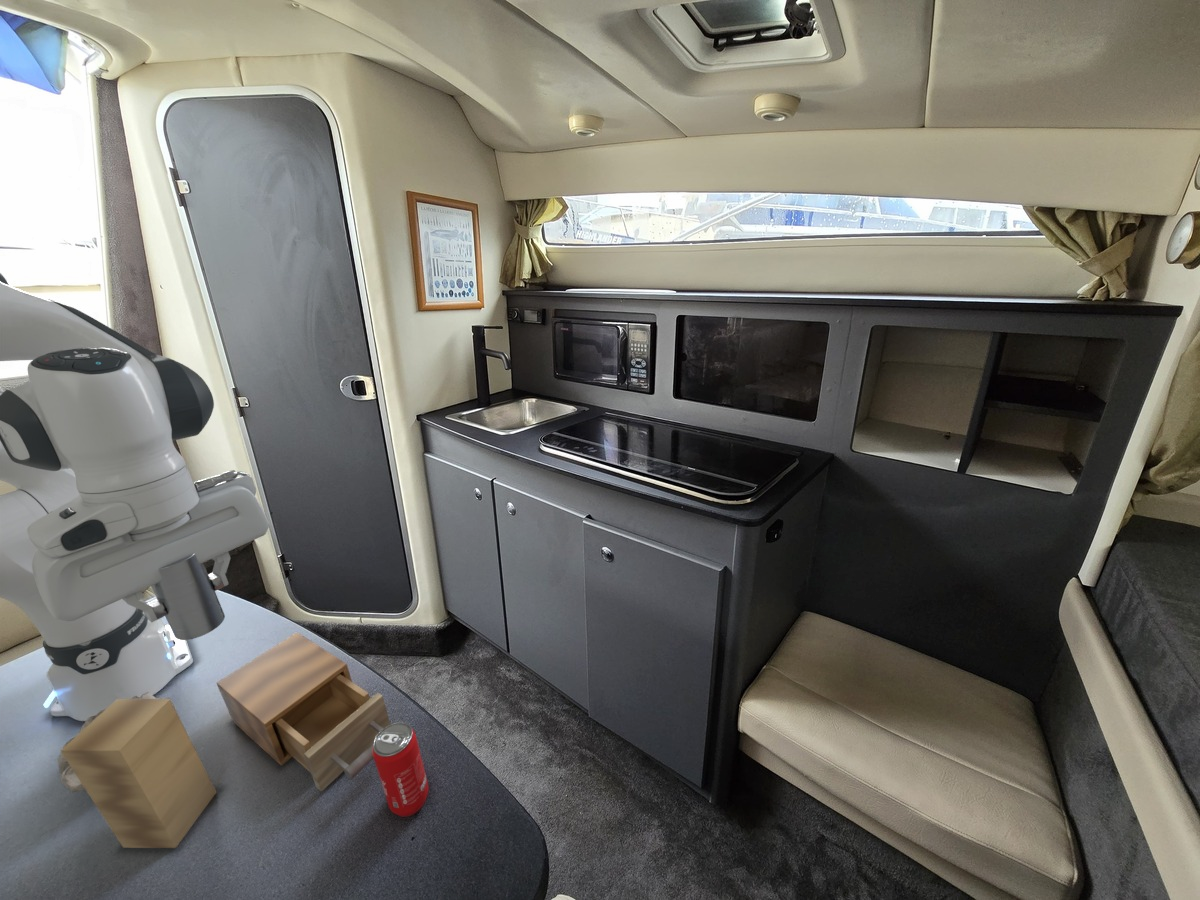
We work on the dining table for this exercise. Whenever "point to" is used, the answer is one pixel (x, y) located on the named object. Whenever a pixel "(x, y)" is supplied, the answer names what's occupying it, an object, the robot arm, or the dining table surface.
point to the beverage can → (400, 769)
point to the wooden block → (141, 772)
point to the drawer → (333, 730)
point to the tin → (188, 598)
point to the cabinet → (277, 688)
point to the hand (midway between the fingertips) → (189, 601)
